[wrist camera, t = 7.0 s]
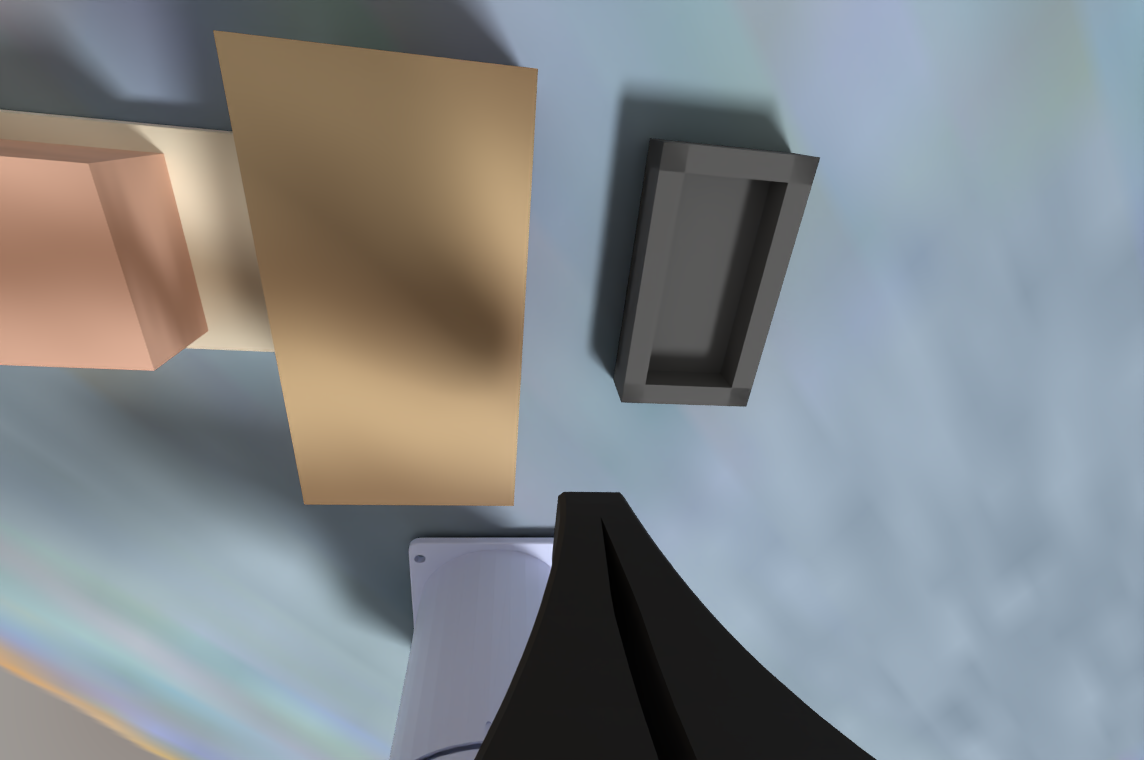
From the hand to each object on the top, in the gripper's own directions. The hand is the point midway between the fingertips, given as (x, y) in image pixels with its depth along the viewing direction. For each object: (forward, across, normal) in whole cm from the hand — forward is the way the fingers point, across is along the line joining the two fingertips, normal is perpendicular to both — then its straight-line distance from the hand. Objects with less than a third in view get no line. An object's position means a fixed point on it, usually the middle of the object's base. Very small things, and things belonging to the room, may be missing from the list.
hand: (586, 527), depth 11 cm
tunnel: (+10, +4, -3) cm, 11 cm away
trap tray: (+10, -5, -3) cm, 11 cm away
